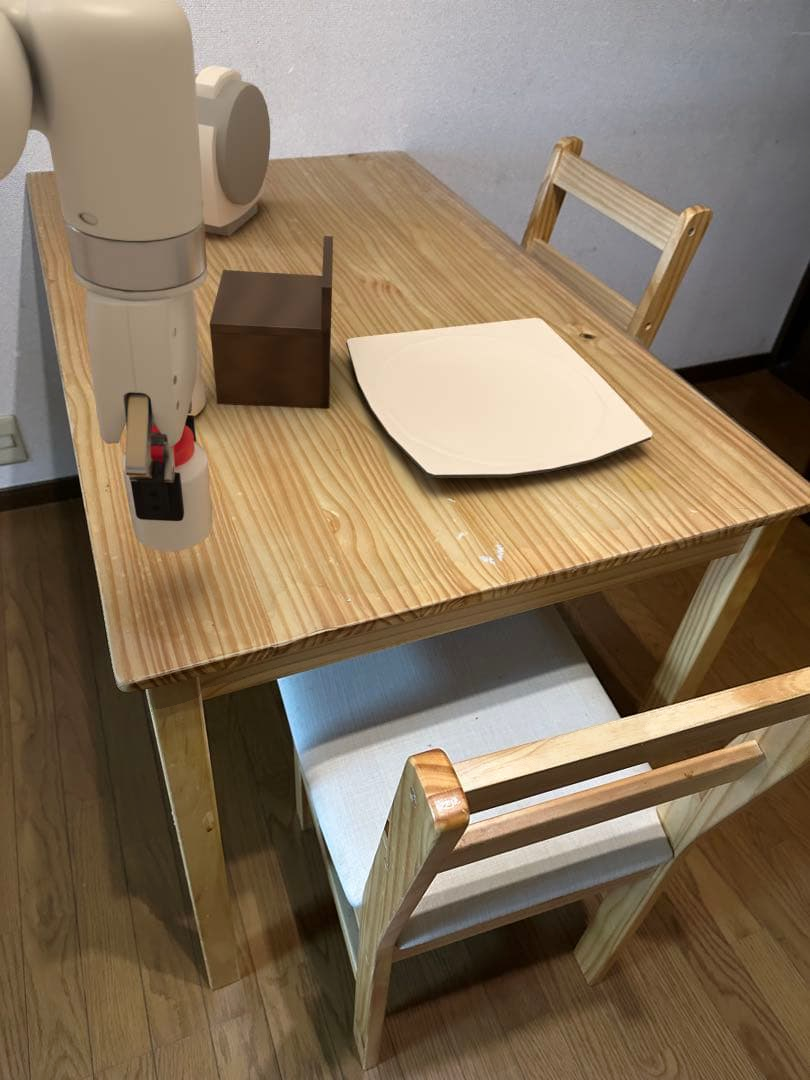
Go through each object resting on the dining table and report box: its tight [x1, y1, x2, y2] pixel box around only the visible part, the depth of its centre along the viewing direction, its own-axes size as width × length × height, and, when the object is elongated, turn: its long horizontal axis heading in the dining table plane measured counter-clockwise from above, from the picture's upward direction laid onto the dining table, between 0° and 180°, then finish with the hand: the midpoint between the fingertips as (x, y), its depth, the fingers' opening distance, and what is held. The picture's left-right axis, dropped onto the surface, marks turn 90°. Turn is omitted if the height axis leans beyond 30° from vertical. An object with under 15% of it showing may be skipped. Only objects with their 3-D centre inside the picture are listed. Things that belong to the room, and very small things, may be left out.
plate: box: [345, 317, 654, 479], centre depth 86 cm, size 29×29×3 cm
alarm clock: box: [195, 64, 271, 237], centre depth 110 cm, size 18×8×20 cm, turn 164°
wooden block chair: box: [209, 235, 334, 409], centre depth 82 cm, size 12×12×14 cm
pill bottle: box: [121, 425, 213, 553], centre depth 56 cm, size 6×6×8 cm
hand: (168, 485), depth 56 cm, fingers closed on pill bottle, 5 cm apart
